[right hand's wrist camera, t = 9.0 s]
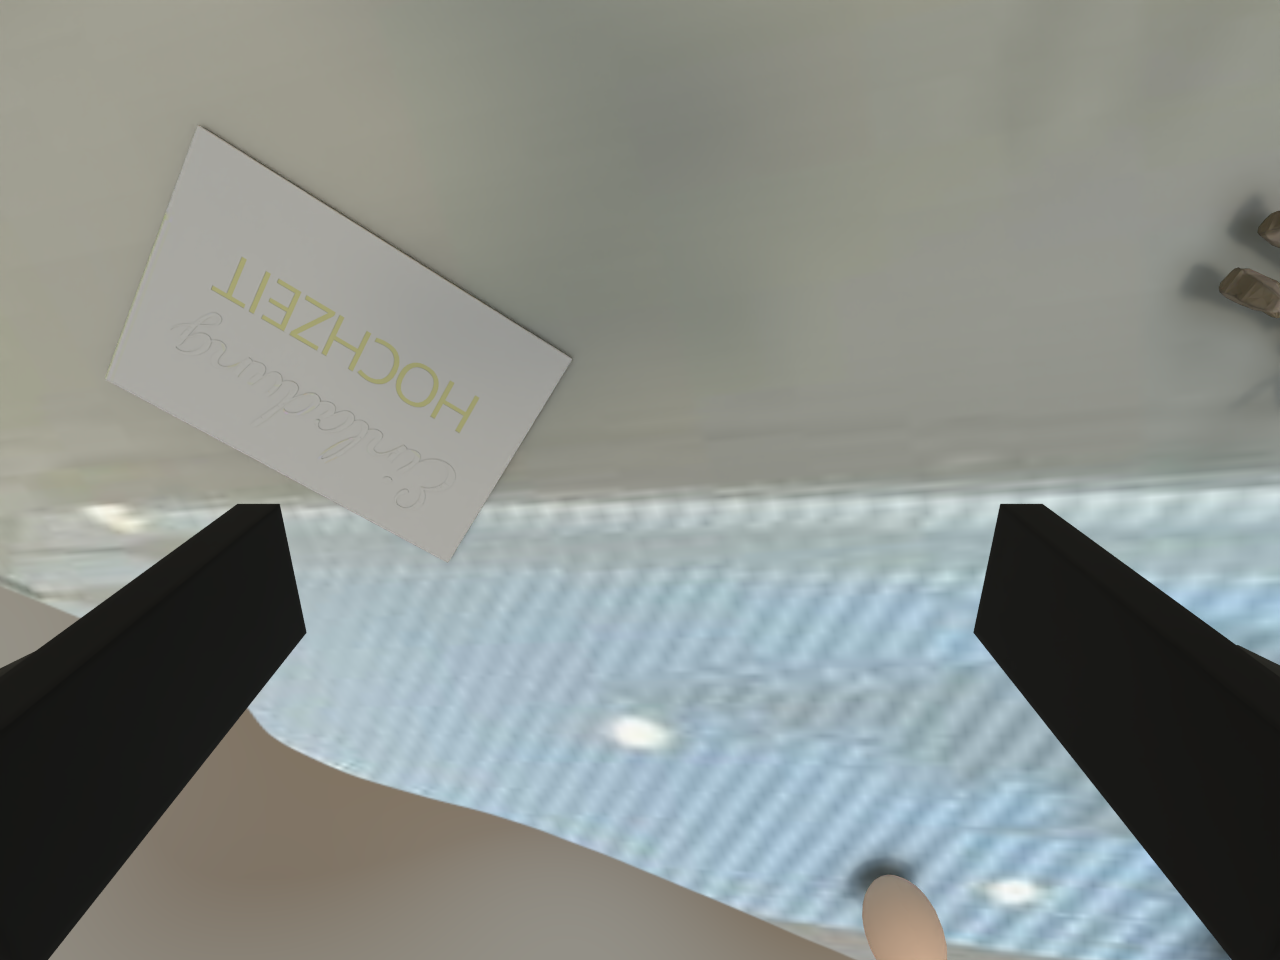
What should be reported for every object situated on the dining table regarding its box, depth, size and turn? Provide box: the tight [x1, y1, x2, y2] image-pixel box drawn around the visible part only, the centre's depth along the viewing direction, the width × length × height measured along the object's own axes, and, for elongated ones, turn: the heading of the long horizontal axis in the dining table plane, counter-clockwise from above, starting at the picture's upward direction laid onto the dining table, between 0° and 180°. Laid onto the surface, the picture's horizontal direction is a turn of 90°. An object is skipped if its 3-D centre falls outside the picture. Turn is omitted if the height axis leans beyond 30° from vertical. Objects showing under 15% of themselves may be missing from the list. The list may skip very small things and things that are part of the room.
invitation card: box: [105, 125, 572, 563], centre depth 38 cm, size 21×1×15 cm
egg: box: [862, 875, 947, 960], centre depth 49 cm, size 5×5×8 cm
